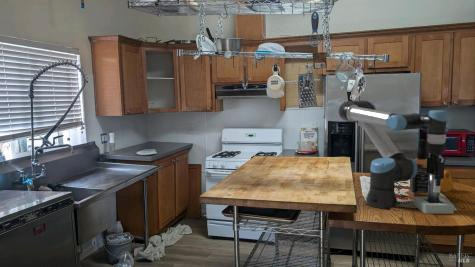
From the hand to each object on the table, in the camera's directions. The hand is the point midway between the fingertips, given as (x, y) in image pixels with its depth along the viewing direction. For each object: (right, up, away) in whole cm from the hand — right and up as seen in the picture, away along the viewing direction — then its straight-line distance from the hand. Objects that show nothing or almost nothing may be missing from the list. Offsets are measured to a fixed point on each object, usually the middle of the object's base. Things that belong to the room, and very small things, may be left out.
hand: (433, 190), depth 174 cm
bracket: (+24, -6, +37) cm, 44 cm away
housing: (0, -10, +1) cm, 10 cm away
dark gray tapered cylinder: (0, -6, +1) cm, 6 cm away
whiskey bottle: (+4, -8, +22) cm, 24 cm away
